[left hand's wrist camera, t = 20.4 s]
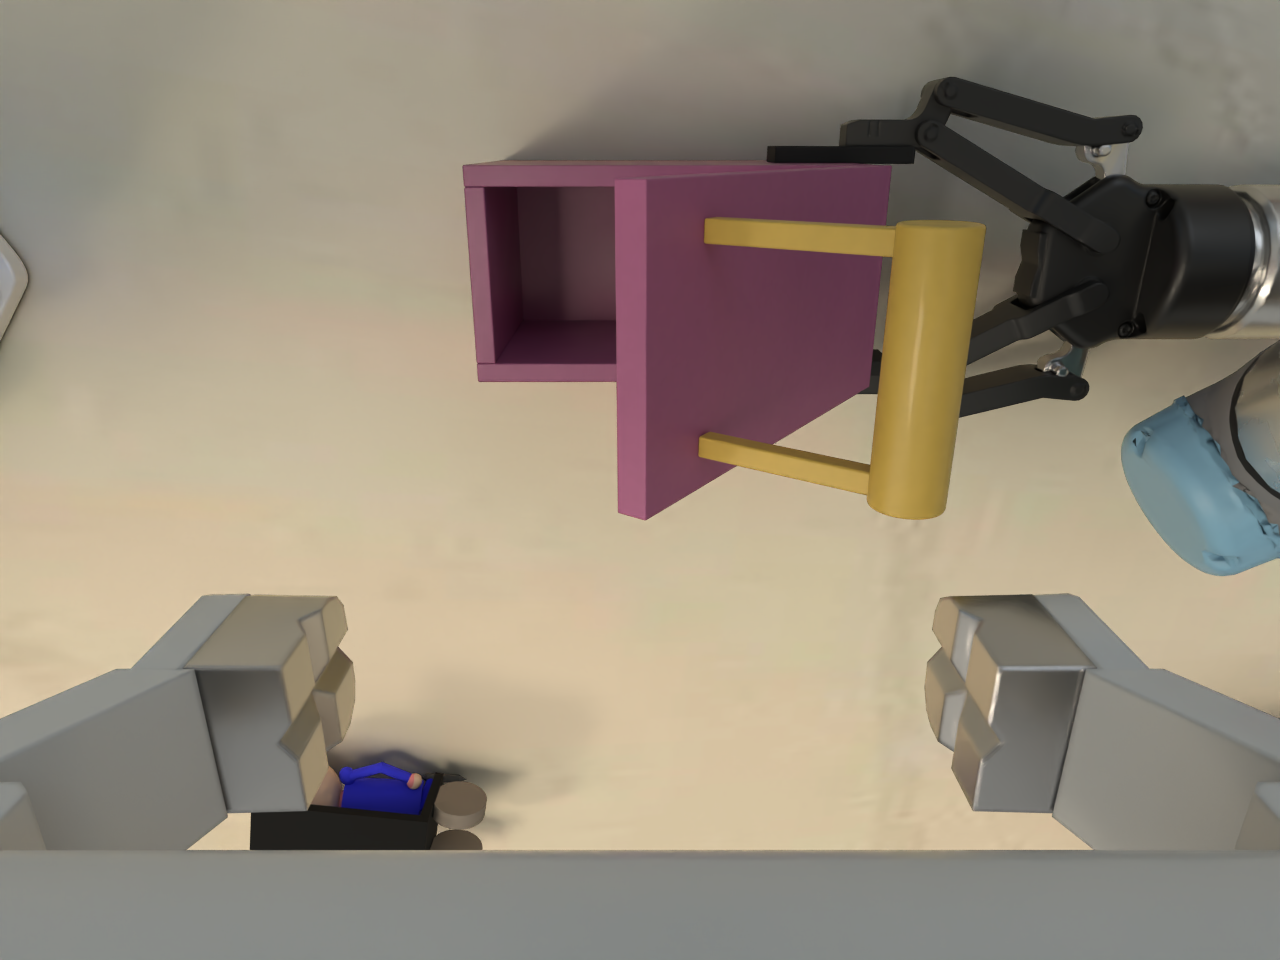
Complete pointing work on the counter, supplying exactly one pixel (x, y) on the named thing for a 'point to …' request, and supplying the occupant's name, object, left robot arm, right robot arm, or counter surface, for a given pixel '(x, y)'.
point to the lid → (785, 332)
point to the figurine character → (377, 814)
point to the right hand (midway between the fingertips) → (765, 263)
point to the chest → (555, 261)
